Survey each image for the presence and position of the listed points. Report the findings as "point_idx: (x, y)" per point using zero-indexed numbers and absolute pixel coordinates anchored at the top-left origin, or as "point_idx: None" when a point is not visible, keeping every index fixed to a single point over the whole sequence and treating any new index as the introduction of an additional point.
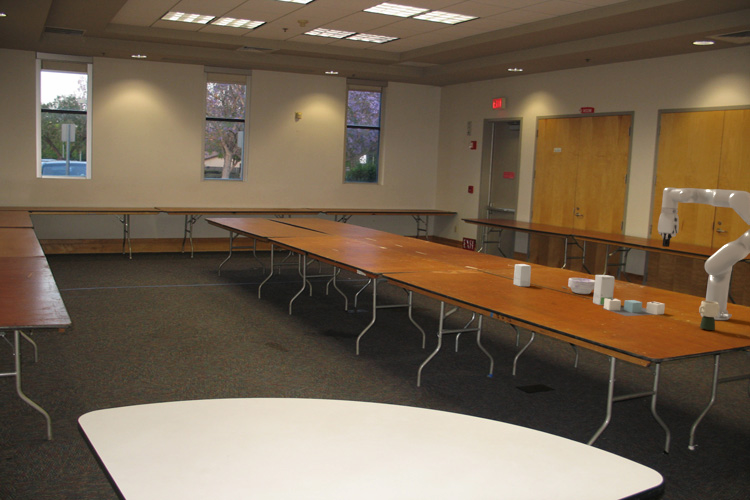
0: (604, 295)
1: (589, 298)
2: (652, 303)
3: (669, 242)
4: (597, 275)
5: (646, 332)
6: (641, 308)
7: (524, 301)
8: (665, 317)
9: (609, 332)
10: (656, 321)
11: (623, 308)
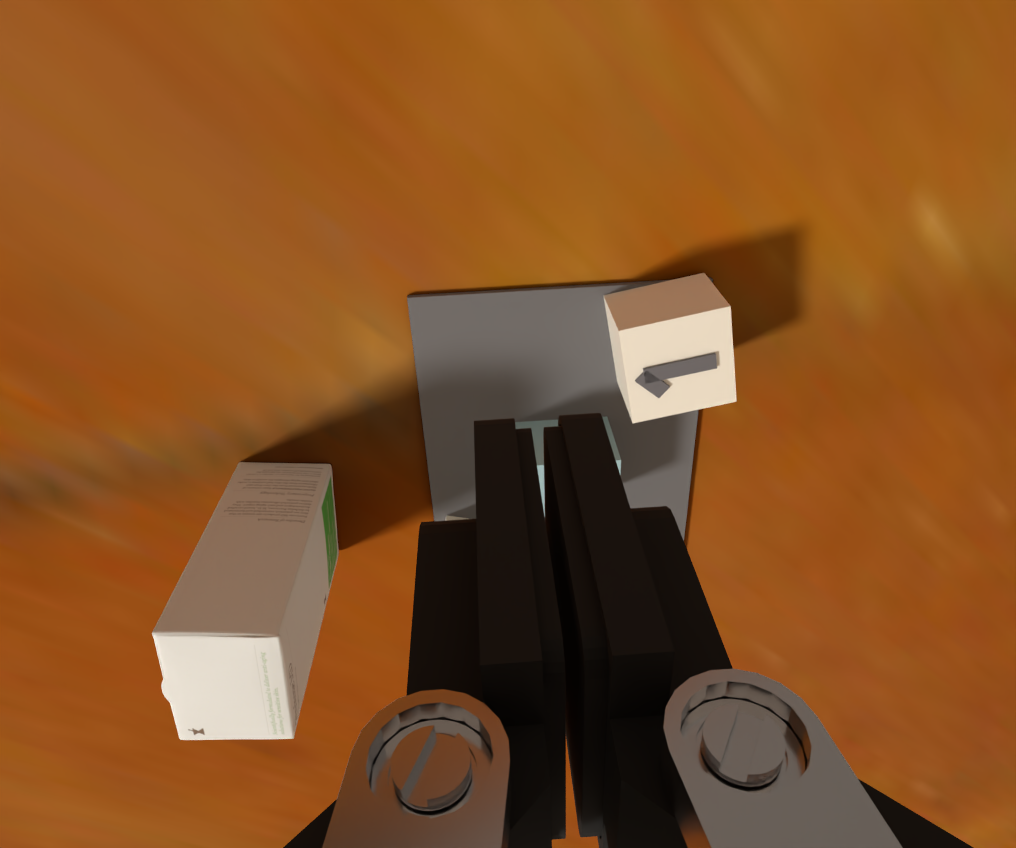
0: (324, 579)
1: (55, 480)
2: (679, 404)
3: (691, 573)
4: (214, 739)
5: (978, 668)
6: (611, 433)
7: (221, 836)
8: (785, 334)
9: (889, 788)
10: (843, 479)
11: (472, 468)
